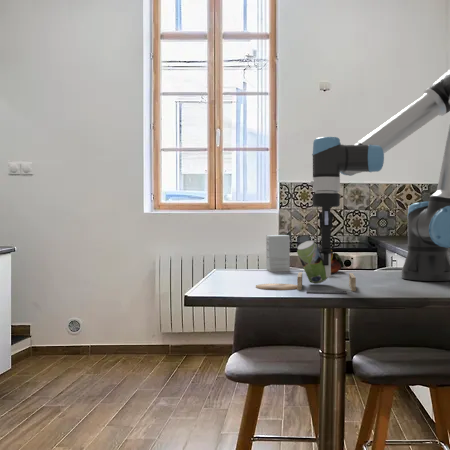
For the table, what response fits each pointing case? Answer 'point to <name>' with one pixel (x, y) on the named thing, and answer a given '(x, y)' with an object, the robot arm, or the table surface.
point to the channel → (351, 281)
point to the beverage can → (312, 261)
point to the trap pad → (326, 292)
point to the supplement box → (277, 253)
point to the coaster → (277, 286)
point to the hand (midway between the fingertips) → (325, 276)
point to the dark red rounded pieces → (335, 262)
